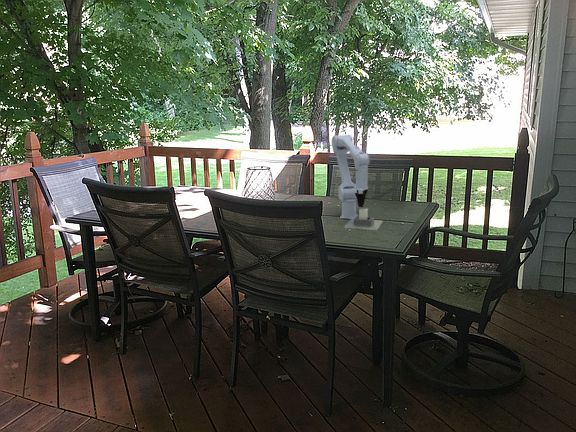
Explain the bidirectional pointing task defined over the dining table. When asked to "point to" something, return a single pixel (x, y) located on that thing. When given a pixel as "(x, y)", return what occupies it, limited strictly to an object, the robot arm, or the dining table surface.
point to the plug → (363, 214)
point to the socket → (364, 224)
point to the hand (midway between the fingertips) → (361, 205)
